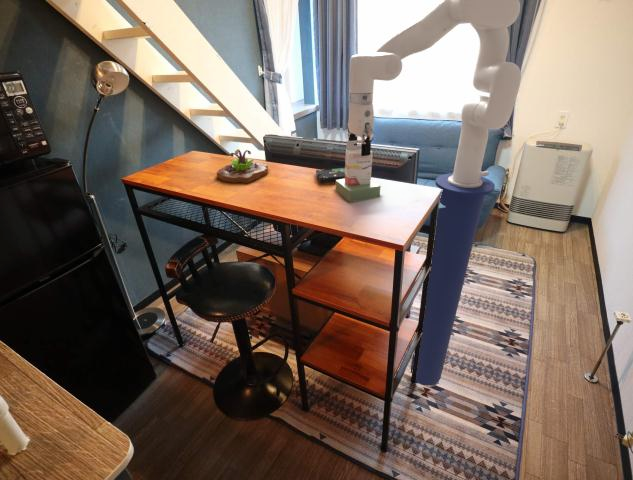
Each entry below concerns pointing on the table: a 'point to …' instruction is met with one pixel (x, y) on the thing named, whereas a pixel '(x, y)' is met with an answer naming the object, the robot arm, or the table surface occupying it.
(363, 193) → the green block
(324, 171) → the disk drive
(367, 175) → the ink cartridge box
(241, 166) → the plant
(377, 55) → the robot arm
